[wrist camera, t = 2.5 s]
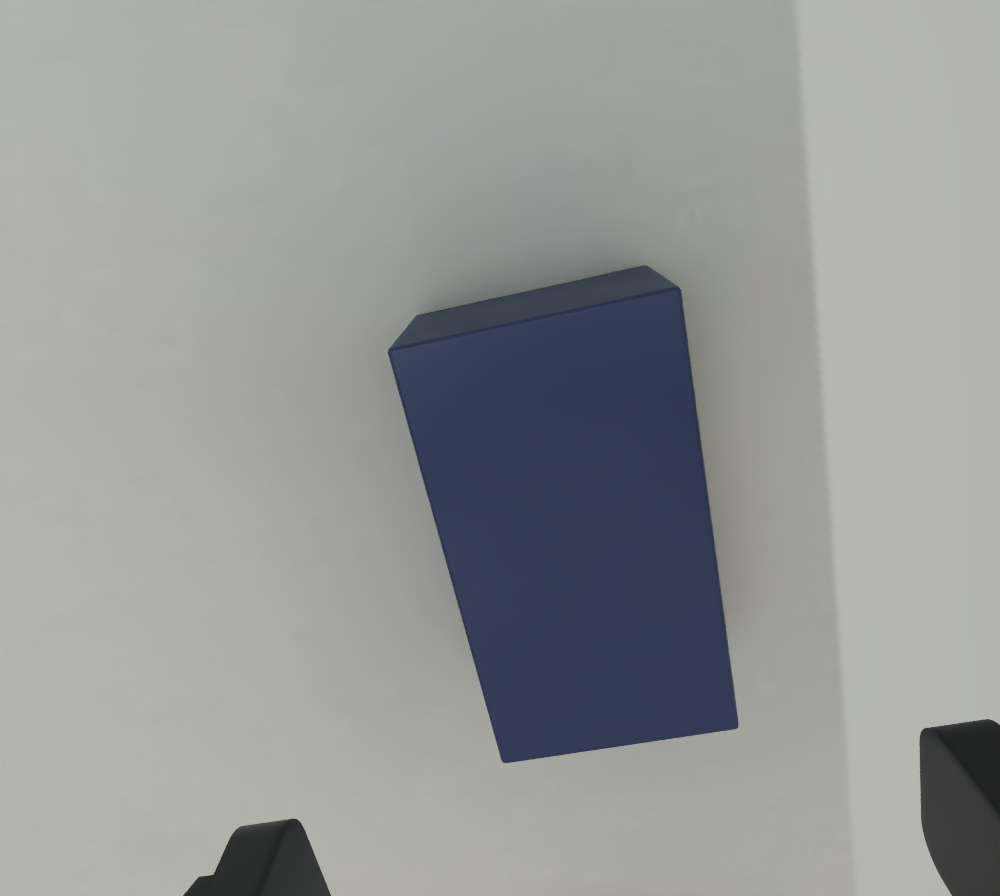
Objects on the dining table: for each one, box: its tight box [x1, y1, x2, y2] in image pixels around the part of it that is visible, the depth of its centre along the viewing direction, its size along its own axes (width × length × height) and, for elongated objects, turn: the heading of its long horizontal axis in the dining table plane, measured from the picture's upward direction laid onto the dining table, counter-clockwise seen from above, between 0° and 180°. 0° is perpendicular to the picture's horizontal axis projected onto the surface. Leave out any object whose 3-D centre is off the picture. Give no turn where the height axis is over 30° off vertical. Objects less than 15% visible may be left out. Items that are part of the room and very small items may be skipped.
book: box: [388, 266, 738, 763], centre depth 18 cm, size 6×11×4 cm, turn 12°
